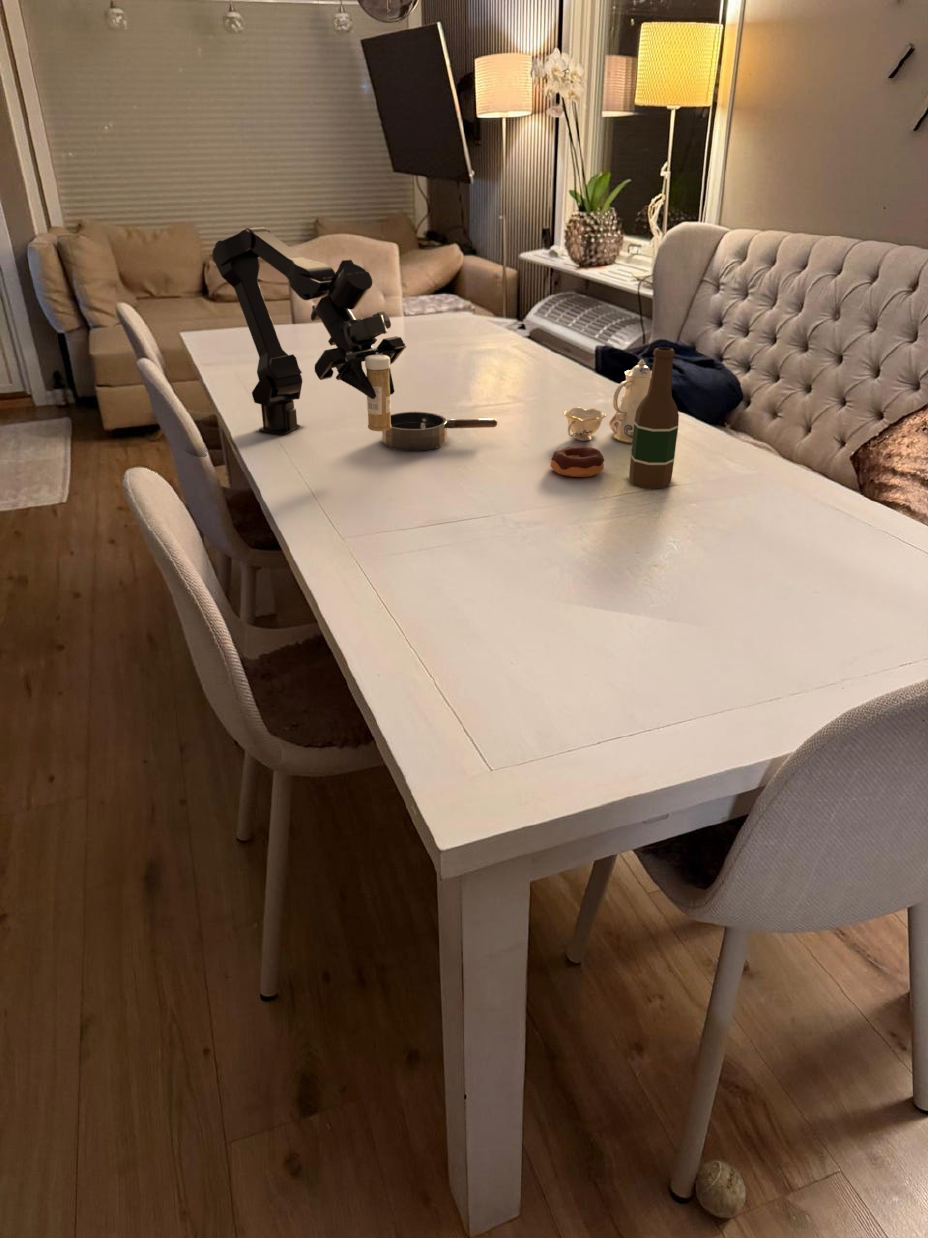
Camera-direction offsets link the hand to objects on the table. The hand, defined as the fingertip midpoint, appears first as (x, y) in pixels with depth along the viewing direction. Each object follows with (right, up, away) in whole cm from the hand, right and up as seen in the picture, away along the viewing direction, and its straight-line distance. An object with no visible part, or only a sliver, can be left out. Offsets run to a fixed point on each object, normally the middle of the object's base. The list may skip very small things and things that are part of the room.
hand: (383, 395), depth 166 cm
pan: (+5, -5, +19) cm, 20 cm away
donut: (+36, -14, +4) cm, 39 cm away
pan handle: (+16, -2, +19) cm, 25 cm away
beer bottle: (+49, -16, -1) cm, 52 cm away
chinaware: (+49, -2, +25) cm, 55 cm away
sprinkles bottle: (-1, -5, +4) cm, 7 cm away
